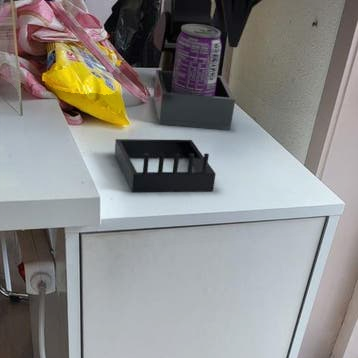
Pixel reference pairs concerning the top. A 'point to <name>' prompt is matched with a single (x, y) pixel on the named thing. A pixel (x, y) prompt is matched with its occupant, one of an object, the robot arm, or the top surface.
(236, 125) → the top surface
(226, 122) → the grey storage bin
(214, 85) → the beverage can
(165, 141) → the dish rack
